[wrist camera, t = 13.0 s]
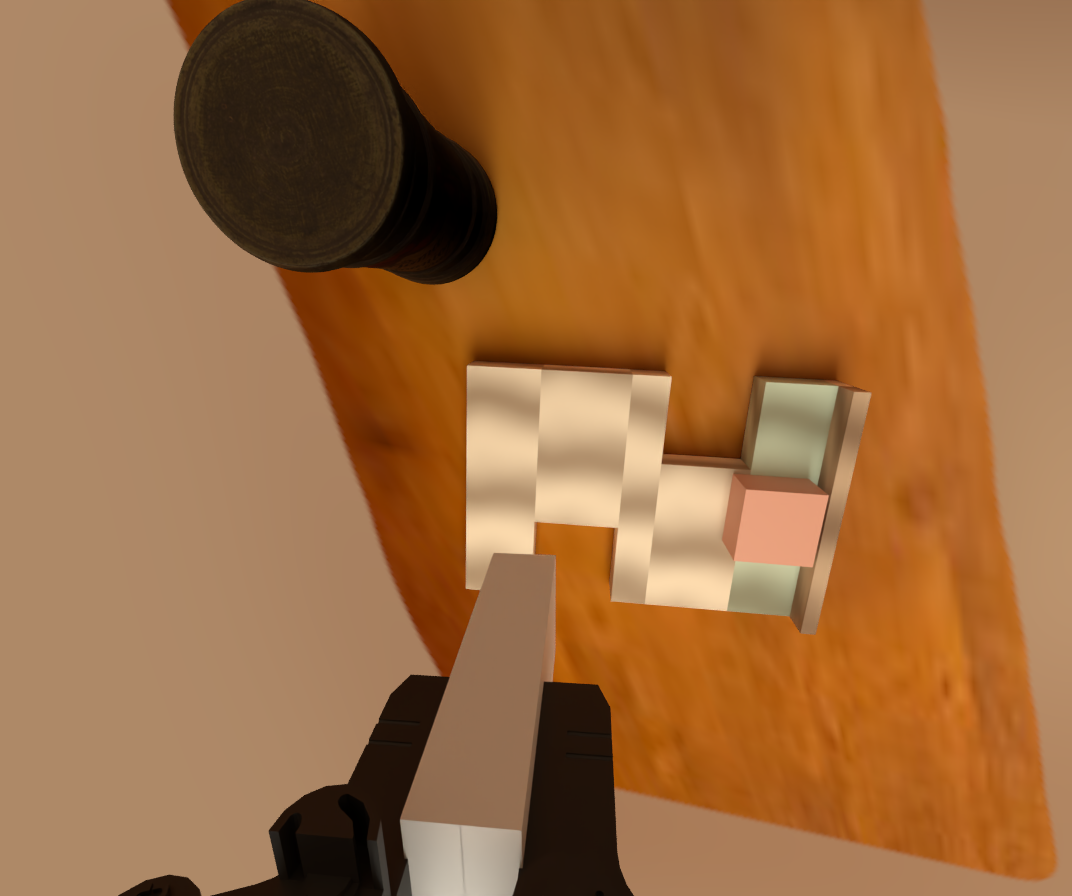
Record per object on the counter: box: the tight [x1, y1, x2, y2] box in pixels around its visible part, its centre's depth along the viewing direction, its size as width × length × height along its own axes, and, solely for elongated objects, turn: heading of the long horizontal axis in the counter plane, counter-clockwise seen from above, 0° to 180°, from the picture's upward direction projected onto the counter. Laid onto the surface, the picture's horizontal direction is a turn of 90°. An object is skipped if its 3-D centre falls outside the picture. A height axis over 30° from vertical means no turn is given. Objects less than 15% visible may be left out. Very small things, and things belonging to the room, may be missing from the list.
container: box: [174, 0, 497, 284], centre depth 26 cm, size 9×9×18 cm
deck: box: [466, 361, 871, 634], centre depth 37 cm, size 17×25×4 cm
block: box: [722, 474, 829, 567], centre depth 35 cm, size 5×5×3 cm
